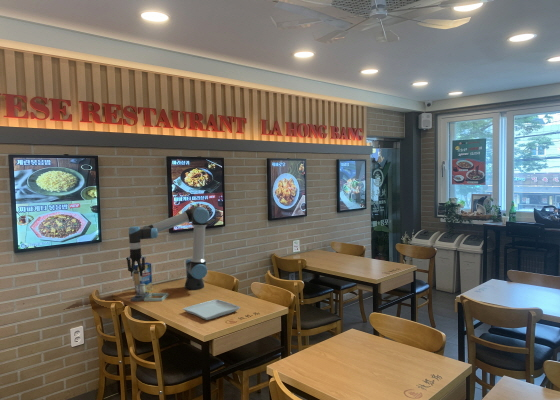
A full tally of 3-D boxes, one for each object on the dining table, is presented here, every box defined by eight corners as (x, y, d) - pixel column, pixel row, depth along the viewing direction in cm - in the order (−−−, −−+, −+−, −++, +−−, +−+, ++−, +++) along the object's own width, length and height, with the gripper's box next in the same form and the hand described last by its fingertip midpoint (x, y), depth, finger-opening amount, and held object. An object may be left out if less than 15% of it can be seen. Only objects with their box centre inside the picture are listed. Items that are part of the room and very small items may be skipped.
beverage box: (134, 293, 311) (133, 264, 310) (148, 290, 319) (147, 262, 317) (138, 294, 306) (137, 266, 305) (152, 291, 314) (151, 263, 312)
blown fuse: (141, 283, 293) (140, 270, 293) (139, 284, 289) (138, 272, 289) (135, 283, 293) (135, 271, 293) (133, 284, 289) (132, 272, 289)
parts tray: (168, 296, 300) (168, 292, 300) (162, 301, 287) (162, 298, 287) (151, 296, 301) (151, 293, 301) (144, 301, 288) (143, 298, 288)
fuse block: (149, 295, 304) (149, 292, 304) (140, 302, 288) (140, 298, 288) (140, 295, 304) (139, 292, 304) (131, 302, 289) (130, 298, 289)
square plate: (241, 312, 262) (241, 306, 262) (205, 323, 243) (205, 317, 243) (216, 303, 281) (216, 298, 281) (182, 313, 262) (181, 307, 262)
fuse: (146, 295, 302) (145, 283, 302) (144, 296, 298) (143, 284, 298) (141, 295, 303) (140, 283, 302) (138, 297, 299) (138, 284, 298)
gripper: (149, 247, 293) (150, 279, 294) (126, 247, 294) (127, 279, 295) (144, 249, 285) (146, 281, 287) (121, 249, 287) (123, 282, 288)
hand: (137, 280), depth 291 cm, fingers closed on blown fuse, 4 cm apart
